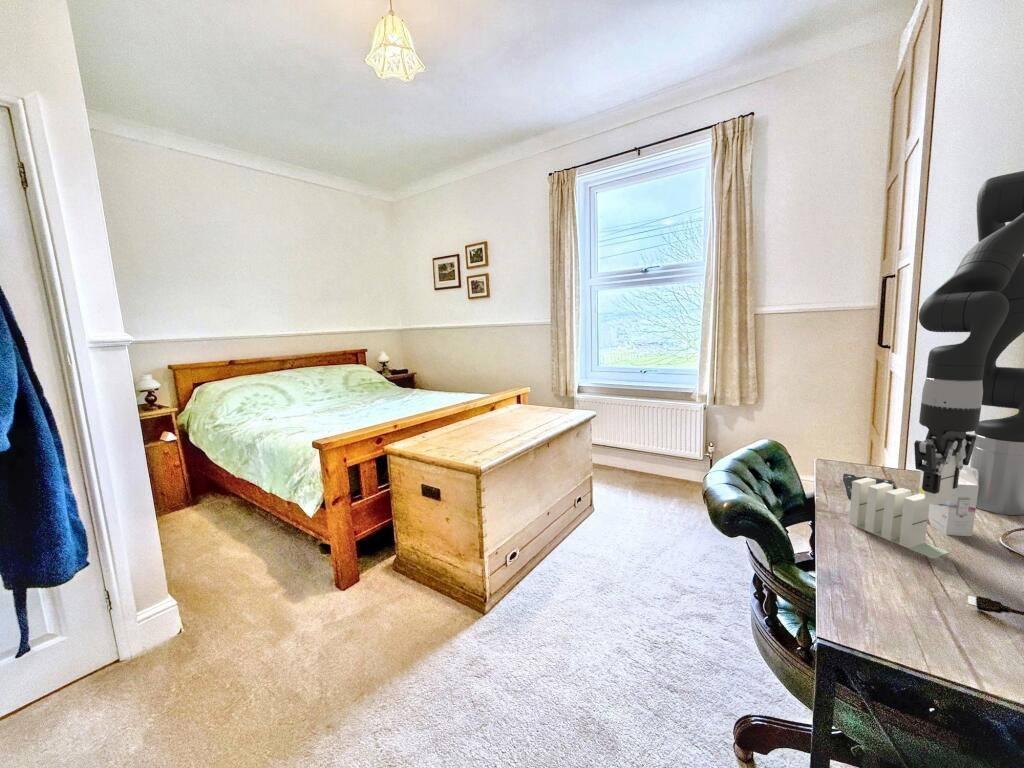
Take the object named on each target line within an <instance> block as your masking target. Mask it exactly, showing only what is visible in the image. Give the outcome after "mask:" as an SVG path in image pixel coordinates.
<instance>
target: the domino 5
mask: <svg viewBox="0 0 1024 768" xmlns="http://www.w3.org/2000/svg"><path fill="white" fill-rule="evenodd" d="M956 455H957V453H956ZM956 455H955V456H956ZM955 456H951V459H950V462H949V463H948V464H945V465H944V468H943V470H942V473H941V482H940V490H939V493H936V494H933V493H930V492H926V491H925V499H924V502H927V503H930V504H933V505H937V504H941V503H944V502H948V501H951V500H952V492H953V482H954V474H955V468H956V462H955ZM936 457H937V458H942V457H943V456H942V455H941V454H938V453H936ZM936 466H937V462H936Z"/></svg>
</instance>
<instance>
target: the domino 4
mask: <svg viewBox="0 0 1024 768" xmlns="http://www.w3.org/2000/svg"><path fill="white" fill-rule="evenodd" d="M924 499H925V495H924V494H918V493H917V494H913V495H911V496H909V497H905V498H904V504H903V513H902V523H901V532H900V541H899V544H900V545H899V544H898V545H899V546H902V545H903V546H902V547H904V546H905V547H904V548H906V547H907V549H909V548H911V547H914V546H917V545H920V544H923V543H926V538H927V537H926V536H927V531H928V530H927V529H928V523H927V521H928V513H929V505H930V503H927V502H924Z"/></svg>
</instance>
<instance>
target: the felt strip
mask: <svg viewBox="0 0 1024 768" xmlns="http://www.w3.org/2000/svg"><path fill="white" fill-rule="evenodd" d="M846 523H847V524H849V525H852V524H850V523H849V521H847V522H846ZM852 526H854V527H856V528H859V529H862V530H863V531H866V532H869V531H867V530H865V524H863V525H860V526H855V525H852ZM869 533H870V534H872V535H876V536H878V537H879V538H880V537H881V534H882V531H878V532H875V533H871V532H869ZM881 538H883V537H881ZM883 539H885V540H887V541H890V542H892V543H895V544H897V545H899V546H902V547H904V548H907V547H905V546H903V545H900V544H899V541H900V537H899V538H896V539H893V540H888V539H886V538H883ZM907 549H909V550H911V551H913V552H916V553H918V554H921V555H923V556H926V557H928V558H930V559H935V558H937V557H941V556H943V555H946V554H949V553H950V552H949V551H947V550H944V549H942V548H940V547H937V546H935V545H932V544H929V543H927V542H925V543H923V544H920V545H917V546H914V547H911V548H907Z"/></svg>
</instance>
